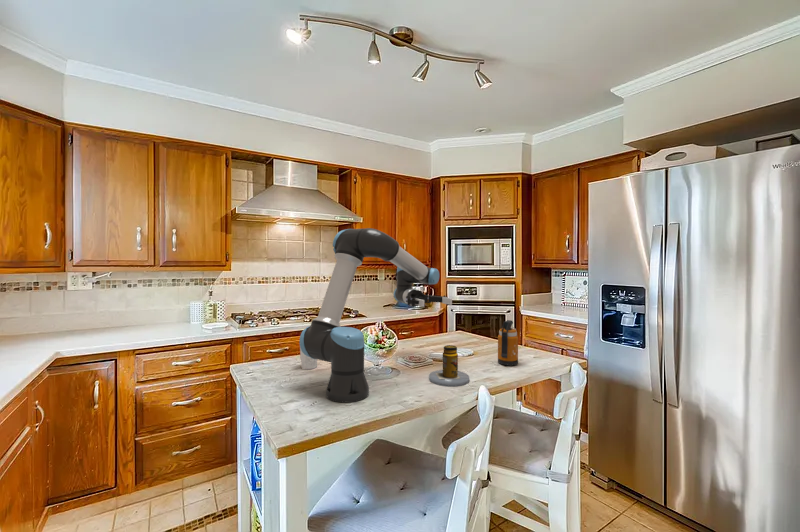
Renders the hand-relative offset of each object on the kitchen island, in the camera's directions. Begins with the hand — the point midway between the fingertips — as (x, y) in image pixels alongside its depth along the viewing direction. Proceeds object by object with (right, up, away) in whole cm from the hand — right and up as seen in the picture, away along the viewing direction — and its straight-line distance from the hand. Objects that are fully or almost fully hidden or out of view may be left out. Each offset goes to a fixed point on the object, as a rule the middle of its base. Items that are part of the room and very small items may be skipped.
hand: (437, 302), depth 158 cm
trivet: (+4, -30, -7) cm, 31 cm away
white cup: (-56, -30, +9) cm, 64 cm away
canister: (+33, -30, +15) cm, 47 cm away
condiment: (+3, -29, -7) cm, 30 cm away
